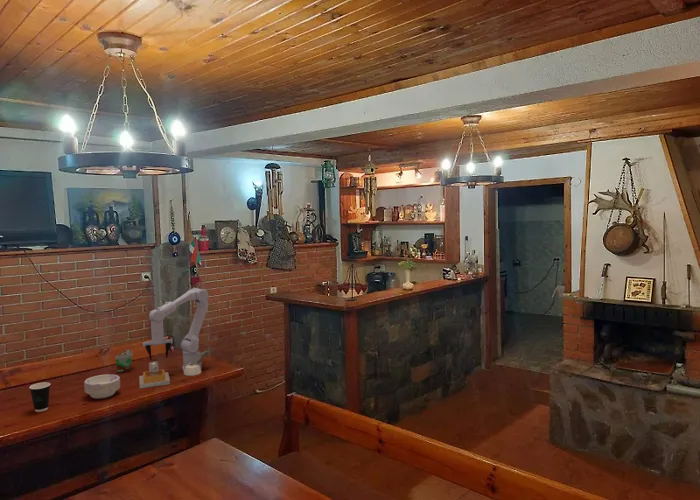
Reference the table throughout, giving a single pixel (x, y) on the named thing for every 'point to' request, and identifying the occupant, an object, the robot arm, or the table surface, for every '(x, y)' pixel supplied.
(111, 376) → the paper bowls
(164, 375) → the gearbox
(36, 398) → the dixie cup
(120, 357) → the food container
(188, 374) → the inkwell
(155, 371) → the spout can
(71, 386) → the table surface
